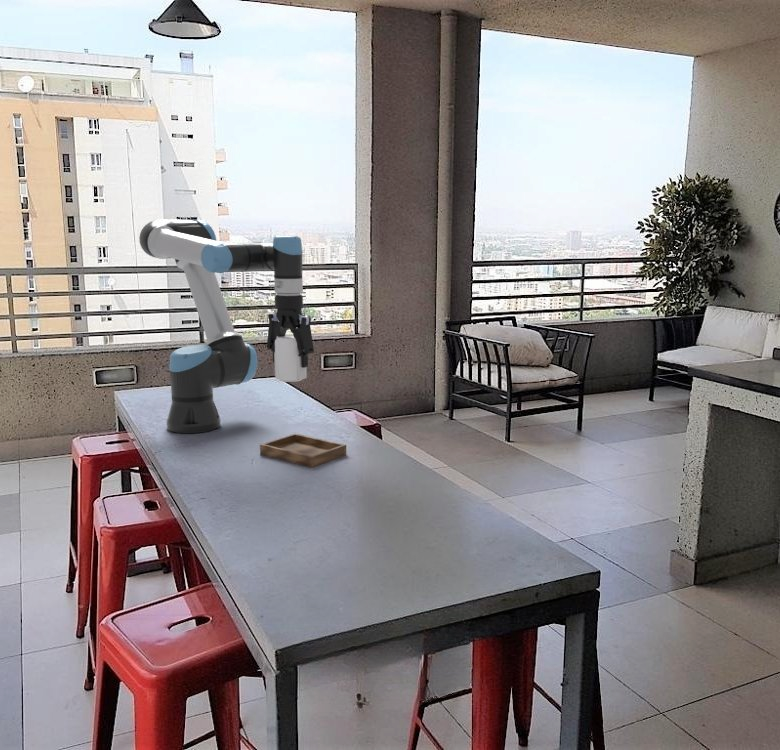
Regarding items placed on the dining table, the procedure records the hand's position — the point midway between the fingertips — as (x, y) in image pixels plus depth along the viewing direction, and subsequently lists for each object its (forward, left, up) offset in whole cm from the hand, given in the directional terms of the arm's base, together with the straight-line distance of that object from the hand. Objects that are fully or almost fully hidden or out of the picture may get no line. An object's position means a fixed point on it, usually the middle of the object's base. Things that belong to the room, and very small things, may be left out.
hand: (290, 376), depth 204 cm
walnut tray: (+14, -11, -17) cm, 24 cm away
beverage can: (0, 0, -1) cm, 1 cm away
